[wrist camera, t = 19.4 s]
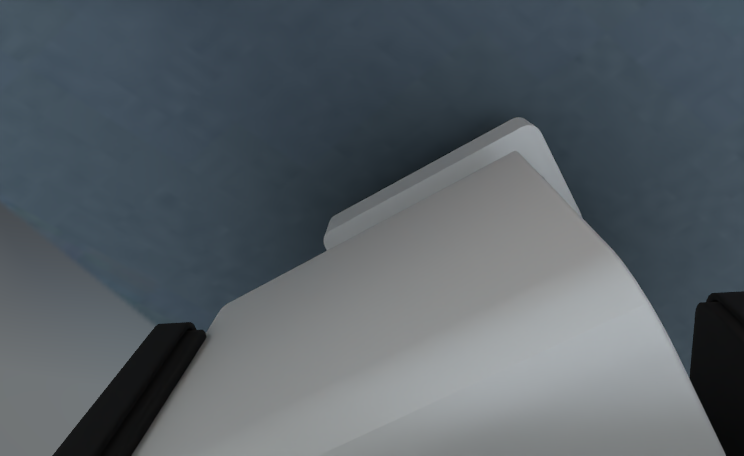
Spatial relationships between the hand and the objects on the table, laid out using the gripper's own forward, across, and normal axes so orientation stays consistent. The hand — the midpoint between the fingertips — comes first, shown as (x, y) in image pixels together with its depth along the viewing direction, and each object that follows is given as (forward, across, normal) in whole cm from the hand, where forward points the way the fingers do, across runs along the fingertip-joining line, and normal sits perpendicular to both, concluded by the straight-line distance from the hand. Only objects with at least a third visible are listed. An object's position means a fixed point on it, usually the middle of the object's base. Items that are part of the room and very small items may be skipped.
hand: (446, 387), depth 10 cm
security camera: (+6, 0, 0) cm, 6 cm away
